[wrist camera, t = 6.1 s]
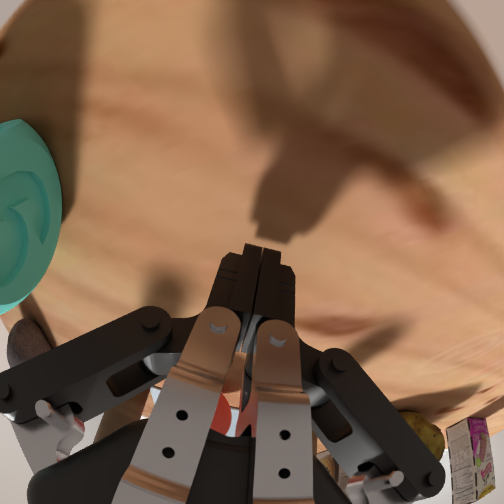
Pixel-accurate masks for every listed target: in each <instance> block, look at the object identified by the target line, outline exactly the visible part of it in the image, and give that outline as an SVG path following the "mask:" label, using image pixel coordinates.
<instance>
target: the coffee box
mask: <svg viewBox="0 0 504 504" xmlns="http://www.w3.org/2000/svg"><path fill="white" fill-rule="evenodd" d="M316 457H317V458H318V459H319V460H320V461H321V463H322V464H323V465H324V466H325V468H326V469H327V471H328V472H329V473H330V475H331V476H332V477H333V479H334V480H335V482H336V483H337V484H338V486H339V487H340V488H341V490H342V491H343V492H344V494H345V495H346V496H347V497H348V499H349V500H350V501H351V499H350V498H349V496H348V494H347V493H346V487H347V484H348V481H349V479H350V478H349V476H348V475H347V474H346V473H345V471H344V470H343V469H342V468H341V466H340V465H339V464H338V463H337V461H336V460H335V459H334V458H333V456H332V455H331V454H330V452H329V451H328V450H327V451H325V452H322V453H319V454H317V456H316ZM351 503H352V502H351Z"/></svg>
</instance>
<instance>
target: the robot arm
mask: <svg viewBox="0 0 504 504" xmlns="http://www.w3.org/2000/svg"><path fill="white" fill-rule="evenodd" d="M261 253H262V254H261ZM280 262H281V252H280V251H276V250H272V249H268V248H263V251H262V247H259V246H255V245H251V244H247V243H245V246H244V250H243V254H242V255H240V254H235V253H231V252H229V253H228V254H227V255H226V256H225V257H223V258H222V260H221V263H220V266H219V269H218V272H217V275H216V278H215V281H214V284H213V287H212V290H211V293H210V296H209V299H208V302H207V305H206V307H205V308H204V310H203V311H202V312H201V313H199V314H198V315H196V316H193V317H189V318H171V317H170V316H169V314H168V313H167V312H166V311H165V310H163V309H161V308H159V307H155V306H146V307H142V308H139V309H137V310H135V311H133V312H131V313H129V314H127V315H124V316H122V317H120V318H118V319H116V320H114V321H112V322H109V323H107V324H105V325H103V326H101V327H99V328H96V329H94V330H92V331H90V332H88V333H86V334H84V335H81V336H79V337H77V338H75V339H73V340H71V341H68V342H66V343H64V344H62V345H60V346H58V347H55V348H53V349H51V350H49V351H47V352H45V353H42V354H40V355H38V356H36V357H34V358H32V359H29V360H27V361H25V362H23V363H21V364H18V365H16V366H14V367H12V368H10V369H8V370H5V371H3V372H1V373H0V413H1V414H2V415H4V416H5V417H7V418H8V419H9V420H10V422H11V424H12V426H13V429H14V432H15V434H16V436H17V439H18V441H19V444H20V446H21V448H22V451H23V453H24V455H25V457H26V459H27V461H28V463H29V465H30V467H31V469H32V471H33V473H34V476H33V477H32V478H31V480H30V482H29V485H28V489H27V500H28V504H412V503H413V502H414V501H418V500H422V499H426V498H430V497H433V496H435V495H437V494H438V493H439V492H440V491H441V489H442V488H443V486H444V483H445V470H444V468H443V466H442V465H441V463H440V462H439V461H438V460H437V458H436V457H435V456H434V455H433V453H432V452H431V451H430V450H429V449H428V447H427V446H426V445H425V444H424V442H423V441H422V440H421V439H420V438H419V436H418V435H417V434H416V433H415V431H414V430H413V429H412V428H411V427H410V425H409V424H408V423H407V422H406V421H405V419H404V418H403V417H402V416H401V414H400V413H399V412H398V411H397V410H396V408H395V407H394V406H393V405H392V404H391V402H390V401H389V400H388V399H387V398H386V396H385V395H384V394H383V393H382V392H381V390H380V389H379V388H378V387H377V386H376V384H375V383H374V382H373V381H372V380H371V378H370V377H369V376H368V375H367V374H366V372H365V371H364V370H363V369H362V368H361V366H360V365H359V364H358V363H357V362H356V361H355V359H354V358H353V357H352V356H351V355H350V354H349V353H348V352H346V351H345V350H342V349H339V348H330V349H327V350H325V351H324V352H321V351H319V350H317V349H315V348H313V347H311V346H309V345H307V344H306V343H304V342H303V341H302V340H301V339H300V338H299V336H298V333H297V331H296V330H295V274H294V272H293V270H292V268H291V267H290V266H286V265H282V264H280ZM242 341H243V343H242ZM241 344H242V348H241V352H244V353H247V356H246V362H245V365H244V367H243V371H242V381H241V393H240V405H239V415H238V420H237V424H236V430H235V437H229V436H226V435H224V434H221V433H219V432H217V431H215V430H213V429H211V428H210V427H211V423H212V420H213V417H214V414H215V410H216V407H217V404H218V401H219V398H220V394H221V391H222V388H223V385H224V381H225V378H226V375H227V371H228V368H229V367H230V366H231V364H232V361H233V358H234V355H235V351H239V350H240V347H241ZM165 378H166V380H165V382H164V384H163V387H162V389H161V391H160V394H159V396H158V398H157V401H156V403H155V405H154V408H153V410H152V412H151V415H150V417H149V418H147V419H141V420H137V421H134V422H131V423H129V424H127V425H125V426H123V427H121V428H120V429H118V430H116V431H114V432H113V433H111V434H109V435H107V436H106V437H104V438H102V439H100V440H99V441H97V442H95V443H93V444H91V445H90V446H88V447H86V448H84V449H82V450H80V451H78V452H76V453H74V454H73V455H70V456H69V454H70V451H71V450H72V448H73V447H74V446H75V445H76V444H78V443H79V442H80V441H81V440H82V438H83V436H84V432H85V427H84V422H85V421H88V420H90V419H92V418H94V417H95V416H98V415H99V414H101V413H103V412H105V411H107V410H109V409H111V408H113V407H115V406H117V405H119V404H121V403H123V402H124V401H126V400H128V399H130V398H132V397H134V396H135V395H137V394H139V393H141V392H143V391H144V390H146V389H148V388H150V387H152V386H153V385H155V384H157V383H159V382H160V381H162V380H164V379H165ZM312 430H313V432H314V433H315V434H316V436H317V437H318V438H319V439H320V441H321V442H322V443H323V445H324V446H325V447H326V449H327V450H328V451H329V452H330V454H331V455H332V456H333V458H334V459H335V460H336V461H337V463H338V464H339V465H340V466H341V468H342V469H343V470H344V471H345V473H346V474H347V475H348V476H349V478H350V479H349V481H348V484H347V487H346V493H347V494H348V496H349V498H350V499H351V501H350V500H349V499H348V497H347V496H346V495H345V494H344V492H343V491H342V490H341V488H340V487H339V486H338V484H337V483H336V482H335V480H334V479H333V477H332V476H331V475H330V473H329V472H328V471H327V469H326V468H325V466H324V465H323V464H322V463H321V461H320V460H319V459H318V458H317V457H316V456H314V455H313V454H312ZM351 502H352V503H351Z"/></svg>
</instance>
